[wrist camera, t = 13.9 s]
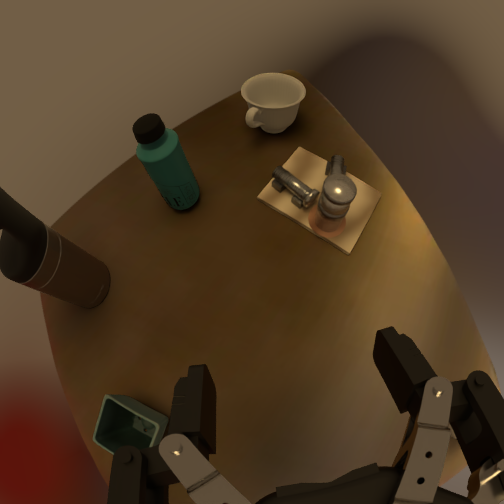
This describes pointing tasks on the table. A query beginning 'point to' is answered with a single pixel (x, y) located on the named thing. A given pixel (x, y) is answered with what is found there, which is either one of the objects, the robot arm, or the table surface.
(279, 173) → the shaft
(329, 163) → the shaft
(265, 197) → the base board
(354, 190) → the disc
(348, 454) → the table surface
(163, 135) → the beverage bottle
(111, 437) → the flower pot
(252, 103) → the teacup
